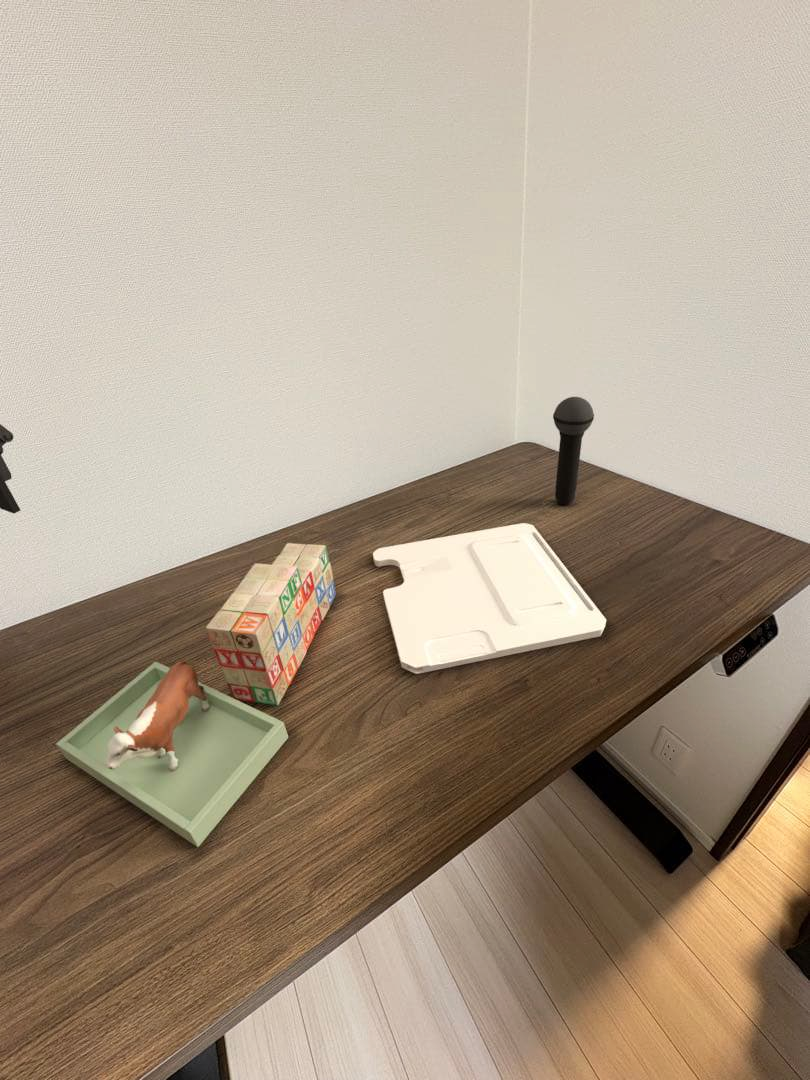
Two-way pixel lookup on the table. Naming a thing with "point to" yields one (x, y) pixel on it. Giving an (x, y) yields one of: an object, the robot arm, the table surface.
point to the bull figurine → (158, 719)
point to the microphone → (570, 444)
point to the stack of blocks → (272, 622)
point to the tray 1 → (180, 755)
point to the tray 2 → (483, 598)
